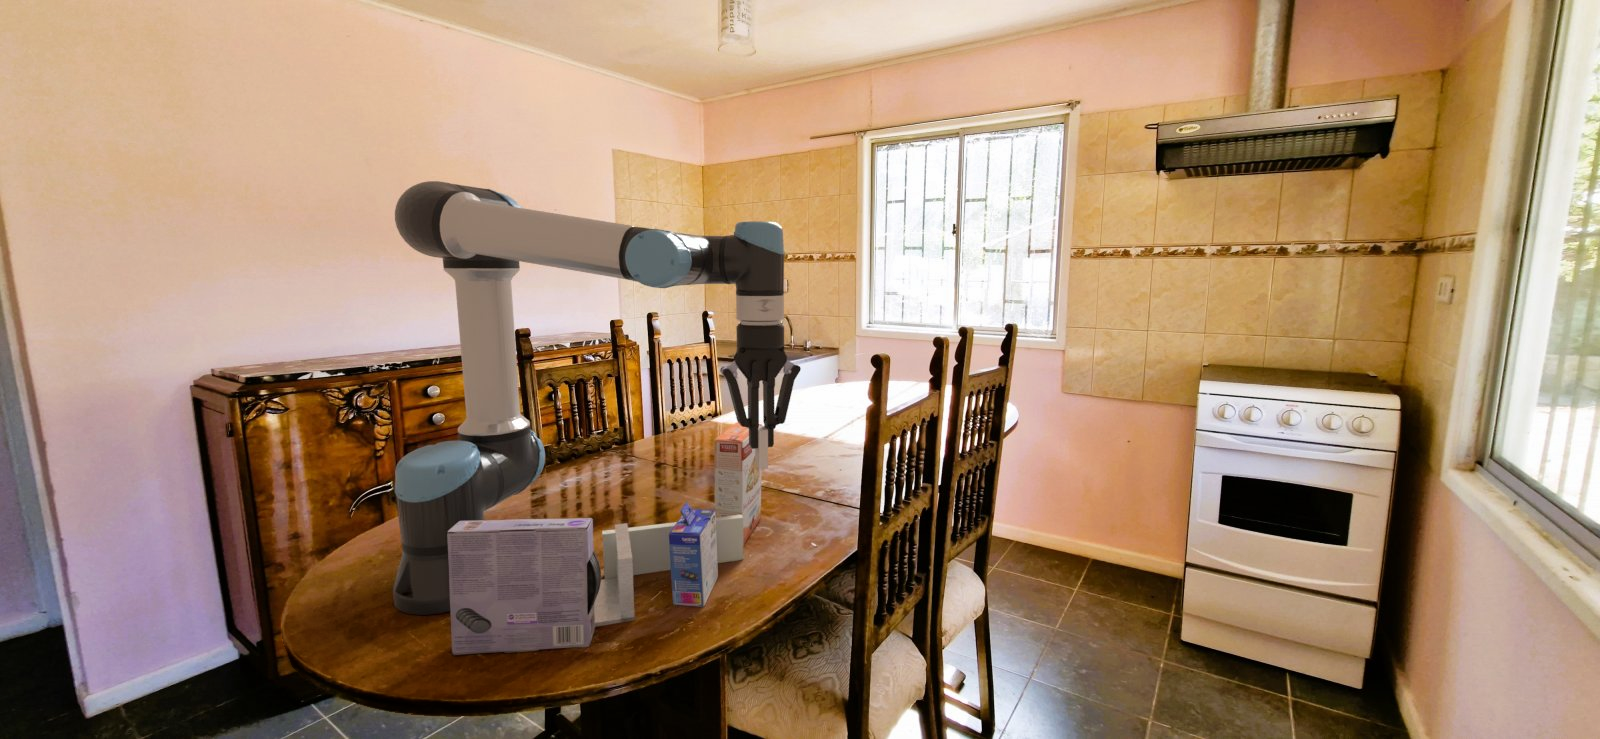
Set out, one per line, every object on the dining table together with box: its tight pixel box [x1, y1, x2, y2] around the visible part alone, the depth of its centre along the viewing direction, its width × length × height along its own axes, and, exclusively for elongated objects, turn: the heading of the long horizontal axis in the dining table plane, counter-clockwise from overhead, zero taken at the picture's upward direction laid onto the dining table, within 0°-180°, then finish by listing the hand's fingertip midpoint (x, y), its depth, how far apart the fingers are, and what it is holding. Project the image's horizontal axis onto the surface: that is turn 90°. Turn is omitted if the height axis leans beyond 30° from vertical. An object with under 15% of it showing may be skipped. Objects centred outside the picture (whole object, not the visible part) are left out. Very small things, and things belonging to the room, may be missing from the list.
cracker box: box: [714, 421, 763, 546], centre depth 123 cm, size 14×6×21 cm, turn 168°
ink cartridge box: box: [669, 502, 719, 608], centre depth 101 cm, size 10×6×14 cm, turn 174°
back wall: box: [601, 515, 744, 580], centre depth 109 cm, size 24×2×8 cm, turn 108°
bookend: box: [594, 522, 636, 628], centre depth 97 cm, size 8×13×10 cm, turn 18°
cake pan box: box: [447, 517, 602, 656], centre depth 86 cm, size 19×5×18 cm, turn 98°
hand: (761, 466), depth 102 cm, fingers closed
